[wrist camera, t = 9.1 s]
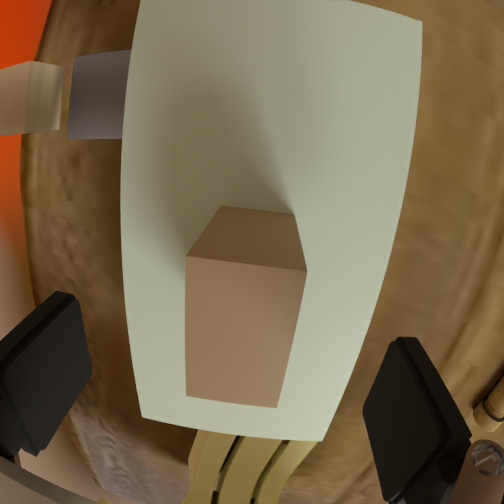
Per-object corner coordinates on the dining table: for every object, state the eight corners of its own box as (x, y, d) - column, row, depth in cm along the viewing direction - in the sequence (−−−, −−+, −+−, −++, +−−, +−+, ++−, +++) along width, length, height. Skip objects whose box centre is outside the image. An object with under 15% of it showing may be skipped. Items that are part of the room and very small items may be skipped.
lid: (151, -1, 11) (80, -62, 4) (412, 28, 10) (491, -20, 4) (147, 404, 19) (116, 481, 13) (320, 428, 19) (328, 510, 13)
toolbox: (152, 41, 18) (86, 1, 10) (366, 60, 18) (422, 21, 9) (143, 333, 27) (102, 406, 18) (311, 357, 27) (322, 441, 18)
